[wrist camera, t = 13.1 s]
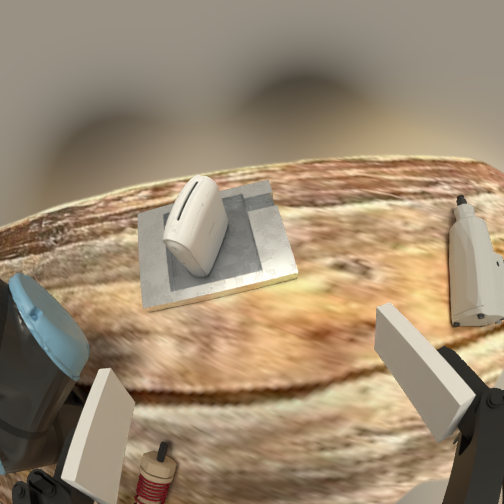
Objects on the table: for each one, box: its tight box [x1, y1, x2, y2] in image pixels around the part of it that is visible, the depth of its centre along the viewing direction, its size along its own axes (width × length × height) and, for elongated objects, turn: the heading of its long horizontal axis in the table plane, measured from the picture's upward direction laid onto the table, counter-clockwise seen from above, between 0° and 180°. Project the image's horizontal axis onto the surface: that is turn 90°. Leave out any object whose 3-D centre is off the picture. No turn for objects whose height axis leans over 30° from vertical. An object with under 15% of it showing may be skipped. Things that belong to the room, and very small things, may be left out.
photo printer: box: [163, 175, 228, 277], centre depth 36 cm, size 10×4×12 cm, turn 163°
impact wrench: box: [449, 195, 504, 327], centre depth 35 cm, size 8×23×25 cm
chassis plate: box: [138, 180, 298, 312], centre depth 41 cm, size 22×16×2 cm
